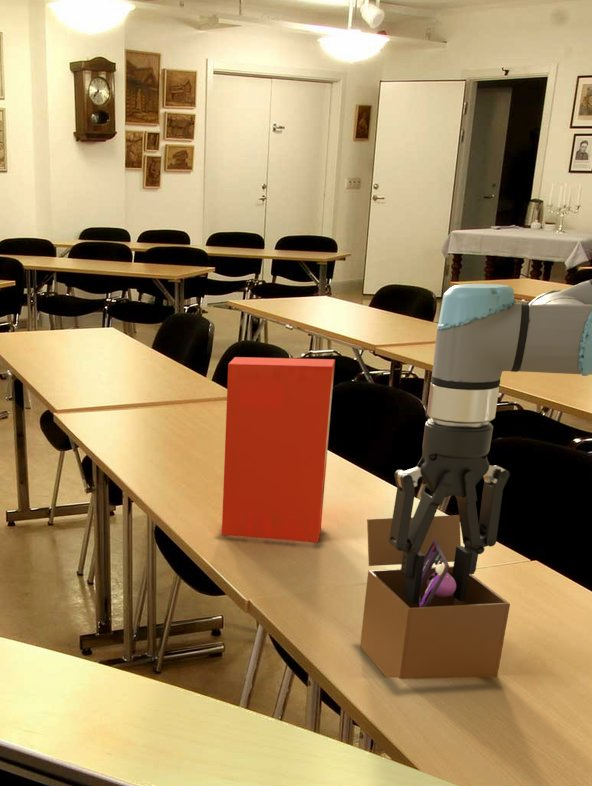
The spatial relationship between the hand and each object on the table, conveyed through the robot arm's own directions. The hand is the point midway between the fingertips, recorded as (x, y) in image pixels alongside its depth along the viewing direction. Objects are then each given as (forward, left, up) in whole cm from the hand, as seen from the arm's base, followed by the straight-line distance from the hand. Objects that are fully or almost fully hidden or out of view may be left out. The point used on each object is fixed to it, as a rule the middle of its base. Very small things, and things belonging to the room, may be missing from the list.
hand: (434, 597), depth 117 cm
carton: (0, 0, -10) cm, 10 cm away
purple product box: (0, 0, 0) cm, 0 cm away
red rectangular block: (+5, -53, -10) cm, 54 cm away
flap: (0, -7, +5) cm, 9 cm away
